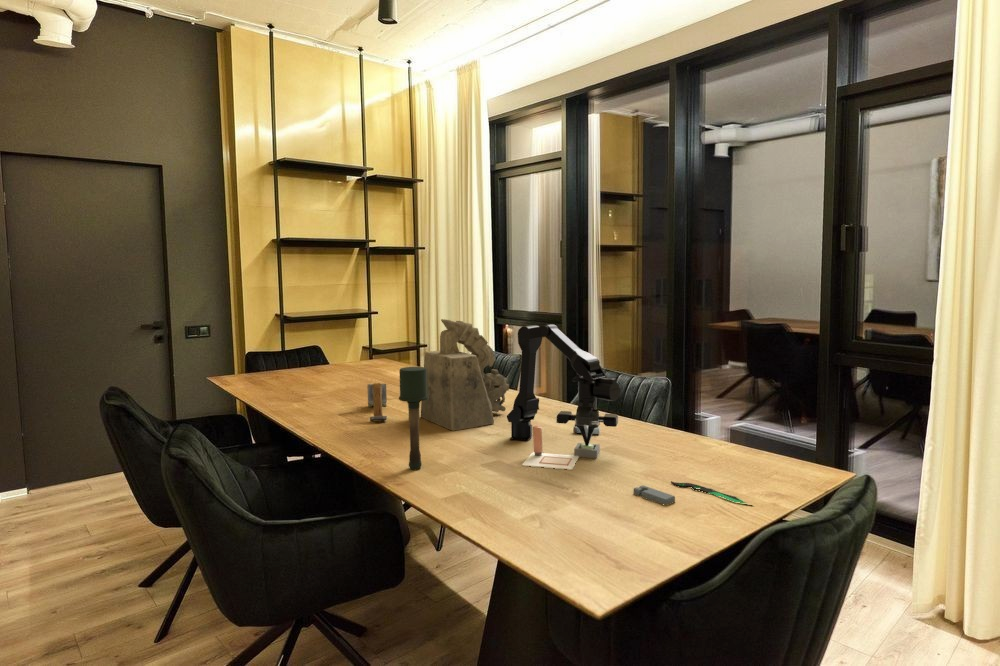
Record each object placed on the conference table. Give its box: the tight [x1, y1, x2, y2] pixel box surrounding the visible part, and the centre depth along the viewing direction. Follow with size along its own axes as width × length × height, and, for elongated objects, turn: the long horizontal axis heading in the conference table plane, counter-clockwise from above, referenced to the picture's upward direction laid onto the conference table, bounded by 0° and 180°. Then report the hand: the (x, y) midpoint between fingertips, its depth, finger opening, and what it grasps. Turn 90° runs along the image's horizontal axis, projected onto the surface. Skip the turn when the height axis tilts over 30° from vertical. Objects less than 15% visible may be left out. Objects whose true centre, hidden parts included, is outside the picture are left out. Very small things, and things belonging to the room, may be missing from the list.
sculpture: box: [420, 318, 510, 431], centre depth 241 cm, size 27×33×40 cm
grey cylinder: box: [573, 426, 601, 436], centre depth 218 cm, size 9×3×3 cm
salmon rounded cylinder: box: [532, 425, 544, 456], centre depth 192 cm, size 3×3×9 cm
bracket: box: [632, 485, 676, 506], centre depth 156 cm, size 4×10×2 cm, turn 37°
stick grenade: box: [398, 366, 428, 471], centre depth 180 cm, size 8×9×30 cm
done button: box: [581, 443, 594, 449], centre depth 194 cm, size 4×4×2 cm
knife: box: [670, 480, 747, 503], centre depth 159 cm, size 23×1×5 cm
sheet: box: [521, 451, 580, 471], centre depth 187 cm, size 15×13×1 cm
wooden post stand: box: [366, 382, 388, 422], centre depth 252 cm, size 8×17×30 cm
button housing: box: [573, 442, 601, 459], centre depth 194 cm, size 7×7×2 cm
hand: (587, 445), depth 193 cm, fingers closed, pressing on done button
